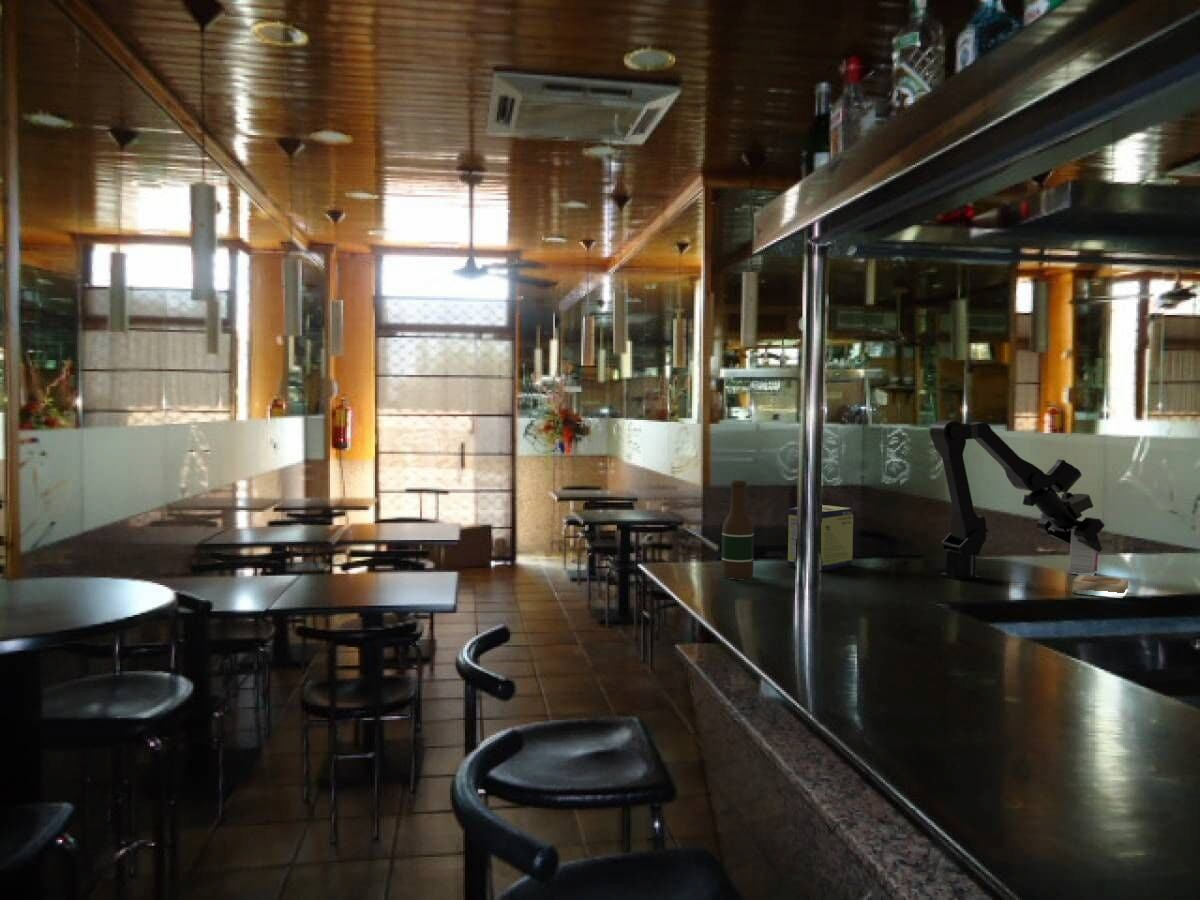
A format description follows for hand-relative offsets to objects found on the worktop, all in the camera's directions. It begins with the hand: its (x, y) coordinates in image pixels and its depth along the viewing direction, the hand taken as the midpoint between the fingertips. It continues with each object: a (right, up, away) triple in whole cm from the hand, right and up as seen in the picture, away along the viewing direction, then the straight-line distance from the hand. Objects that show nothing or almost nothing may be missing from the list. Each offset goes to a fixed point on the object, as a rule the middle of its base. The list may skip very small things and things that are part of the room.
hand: (1088, 548), depth 230 cm
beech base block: (-10, -8, -24) cm, 27 cm away
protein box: (-67, -6, +9) cm, 67 cm away
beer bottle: (-91, -6, -8) cm, 92 cm away
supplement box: (-1, -7, 0) cm, 7 cm away
